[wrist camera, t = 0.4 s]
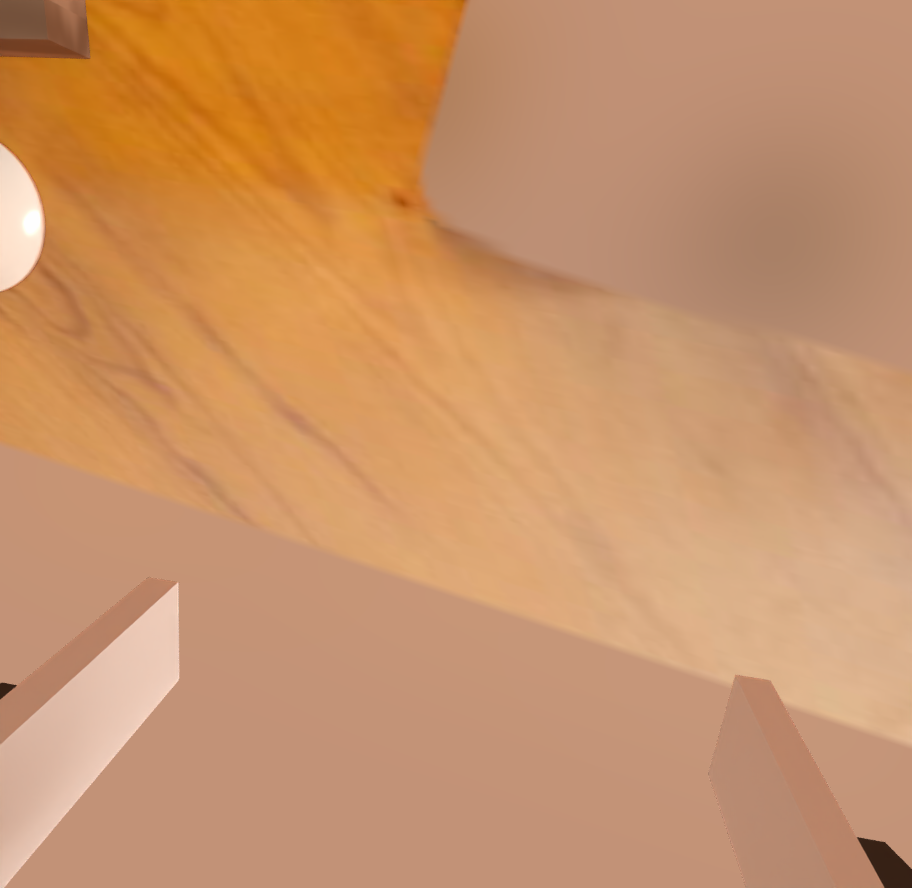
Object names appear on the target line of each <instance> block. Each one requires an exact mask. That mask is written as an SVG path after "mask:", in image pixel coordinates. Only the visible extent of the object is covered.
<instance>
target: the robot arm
mask: <svg viewBox="0 0 912 888" xmlns="http://www.w3.org/2000/svg"><path fill="white" fill-rule="evenodd" d="M178 607H179V603H178V582H175V581H169V580H163V579H157V578H151V577H148V578H146V579H145V580H144V581H143V582H142V583H140V584H139V585H138V586H137V587H136V588H134V589H133V590H132V591H131V592H130V593H128V594H127V595H126V596H125V597H124V598H122V599H121V600H120V601H119V602H117V603H116V604H115V605H114V606H113V607H111V608H110V609H109V610H108V611H107V612H105V613H104V614H103V615H102V616H101V617H99V618H98V619H97V620H96V621H95V622H93V623H92V624H91V625H90V626H89V627H87V628H86V629H85V630H84V631H82V632H81V633H80V634H79V635H78V636H77V637H75V638H74V639H73V640H72V641H70V642H69V643H68V644H67V645H66V646H65V647H63V648H62V649H61V650H60V651H58V652H57V653H56V654H55V655H54V656H52V657H51V658H50V659H49V660H47V661H46V662H45V663H44V664H43V665H41V666H40V667H39V668H38V669H37V670H35V671H34V672H33V673H32V674H31V675H29V676H28V677H27V678H26V679H25V680H23V681H22V682H21V683H20V684H19V685H12V684H7V683H0V888H4V887H5V886H6V885H7V883H8V882H9V881H10V880H11V878H12V877H13V876H14V875H15V874H16V873H17V871H18V870H19V869H20V868H21V867H22V866H23V864H24V863H25V862H26V861H27V860H28V858H29V857H30V856H31V855H32V854H33V852H34V851H35V850H36V849H37V848H38V847H39V845H40V844H41V843H42V842H43V840H44V839H45V838H46V837H47V836H48V835H49V833H50V832H51V831H52V830H53V829H54V828H55V826H56V825H57V824H58V823H59V821H60V820H61V819H62V818H63V817H64V816H65V814H66V813H67V812H68V811H69V810H70V808H71V807H72V806H73V805H74V804H75V803H76V801H77V800H78V799H79V798H80V797H81V795H82V794H83V793H84V792H85V791H86V789H87V788H88V787H89V786H90V784H92V782H93V781H94V780H95V779H96V778H97V776H98V775H99V774H100V773H101V772H102V770H103V769H104V768H105V767H106V766H107V765H108V763H109V762H110V761H111V760H112V759H113V757H114V756H115V755H116V754H117V753H118V751H119V750H120V749H121V748H122V747H123V745H124V744H125V743H126V742H127V741H128V740H129V738H130V737H131V736H132V735H133V734H134V732H135V731H136V730H137V729H138V728H139V727H140V725H141V724H142V723H143V722H144V720H145V719H146V718H147V717H148V716H149V715H150V713H151V712H152V711H153V710H154V709H155V707H156V706H157V705H158V704H159V703H160V702H161V700H162V699H163V698H164V697H165V696H166V694H167V693H168V692H169V691H170V690H171V688H172V687H173V686H174V685H175V684H176V683H177V681H178V680H179V616H178V615H179V608H178ZM708 775H709V778H710V781H711V784H712V787H713V790H714V793H715V796H716V799H717V802H718V805H719V808H720V811H721V814H722V817H723V820H724V823H725V826H726V829H727V833H728V835H729V839H730V842H731V844H732V848H733V851H734V853H735V857H736V860H737V863H738V866H739V869H740V872H741V875H742V878H743V881H744V883H745V887H746V888H912V869H911V868H910V867H909V866H908V865H907V864H906V863H905V862H904V861H903V860H902V859H901V858H900V857H899V856H898V855H897V854H896V853H895V852H894V851H893V850H892V849H891V848H890V847H889V846H888V845H887V844H886V843H885V842H880V841H875V840H869V839H864V838H859V837H856V835H855V833H854V831H853V830H852V828H851V826H850V824H849V823H848V821H847V819H846V817H845V815H844V814H843V812H842V810H841V808H840V806H839V804H838V802H837V801H836V799H835V797H834V795H833V793H832V792H831V790H830V788H829V786H828V784H827V782H826V781H825V779H824V777H823V775H822V774H821V772H820V770H819V768H818V766H817V764H816V762H815V761H814V759H813V757H812V755H811V753H810V752H809V750H808V748H807V746H806V744H805V743H804V741H803V739H802V737H801V735H800V733H799V732H798V730H797V728H796V726H795V724H794V722H793V721H792V719H791V717H790V716H789V713H788V712H787V710H786V708H785V706H784V704H783V702H782V701H781V699H780V697H779V695H778V693H777V692H776V690H775V688H774V686H773V684H772V682H771V681H770V680H764V679H758V678H752V677H746V676H740V675H735V678H734V682H733V686H732V689H731V693H730V697H729V700H728V704H727V707H726V711H725V715H724V718H723V722H722V725H721V729H720V733H719V736H718V740H717V744H716V747H715V751H714V754H713V758H712V762H711V765H710V769H709V772H708Z"/></svg>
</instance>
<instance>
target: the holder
mask: <svg viewBox="0 0 912 888" xmlns="http://www.w3.org/2000/svg"><path fill="white" fill-rule="evenodd" d="M0 56H9V57H47V58H84V59H90V51H89V40H88V29H87V17H86V6H85V0H0Z"/></svg>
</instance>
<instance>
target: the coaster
mask: <svg viewBox="0 0 912 888" xmlns="http://www.w3.org/2000/svg"><path fill="white" fill-rule="evenodd" d="M44 240H45V215H44V209H43V204H42V201H41V197H40V194H39V192H38V189H37V187H36V184H35V182H34V180H33V179H32V177H31V175H30V173H29V172H28V170H27V169H26V167H25V166H24V164H23V163H22V162H21V161H20V160H19V158H18V157H17V156H16V155H15V154H14V153H13V152H12V151H11V150H10V149H9V148H8V147H6V146H5V145H4V144H2V143H1V142H0V292H2V291H5V290H8V289H11V288H13V287H14V286H16V285H18V284H19V283H21V282H22V281H23V280H24V279H25V278H26V277H27V276H28V275H29V274H30V273H31V272H32V270H33V269H34V268H35V266H36V264H37V262H38V260H39V258H40V255H41V252H42V249H43V245H44Z"/></svg>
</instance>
